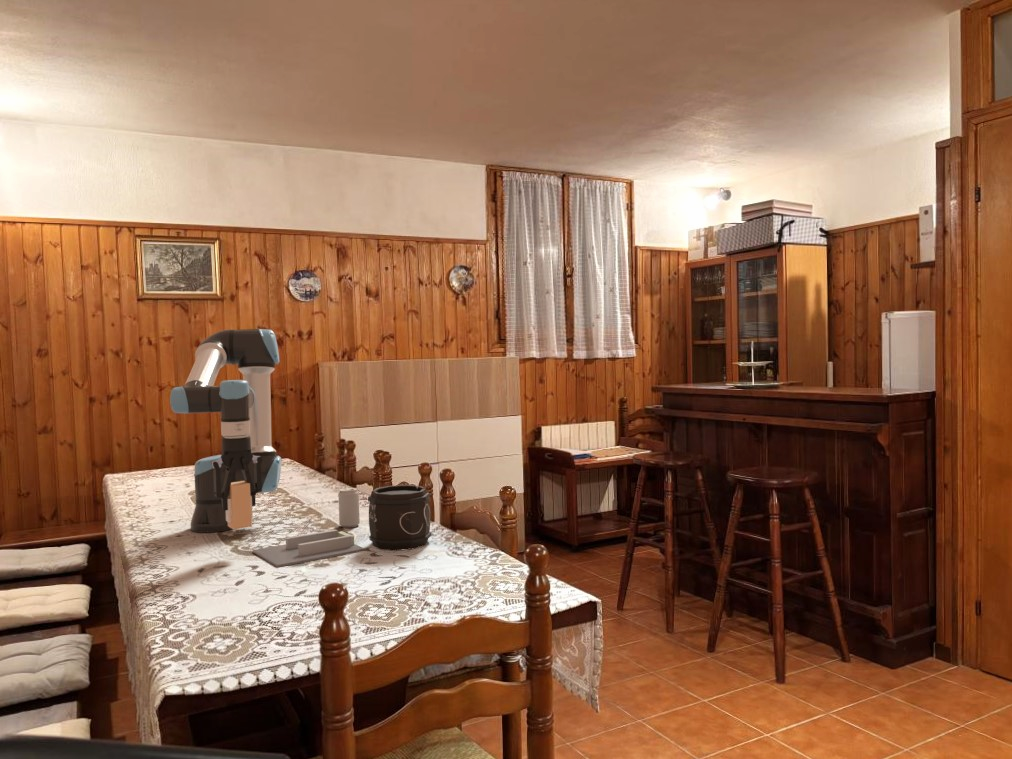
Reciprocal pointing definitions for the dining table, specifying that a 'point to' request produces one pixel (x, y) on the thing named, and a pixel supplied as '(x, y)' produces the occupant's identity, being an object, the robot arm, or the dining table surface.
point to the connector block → (240, 505)
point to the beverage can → (349, 507)
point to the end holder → (310, 548)
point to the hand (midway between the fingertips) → (239, 519)
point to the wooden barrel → (399, 517)
